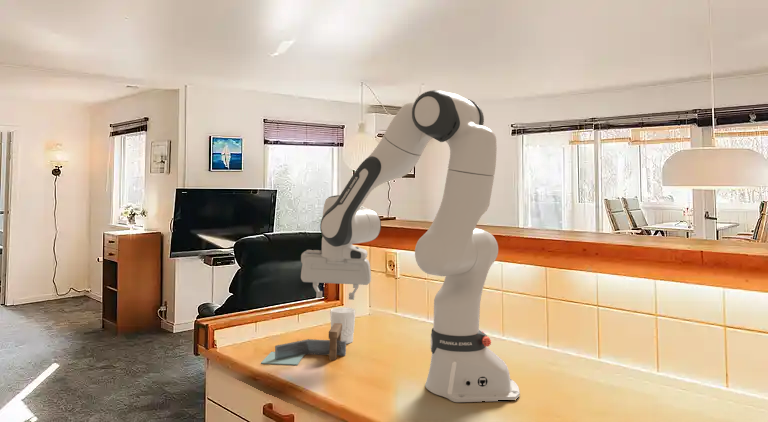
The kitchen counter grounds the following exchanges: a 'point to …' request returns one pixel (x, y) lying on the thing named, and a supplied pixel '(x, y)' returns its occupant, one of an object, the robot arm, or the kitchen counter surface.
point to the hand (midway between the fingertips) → (335, 298)
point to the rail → (308, 348)
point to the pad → (282, 360)
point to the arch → (334, 339)
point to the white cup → (344, 322)
